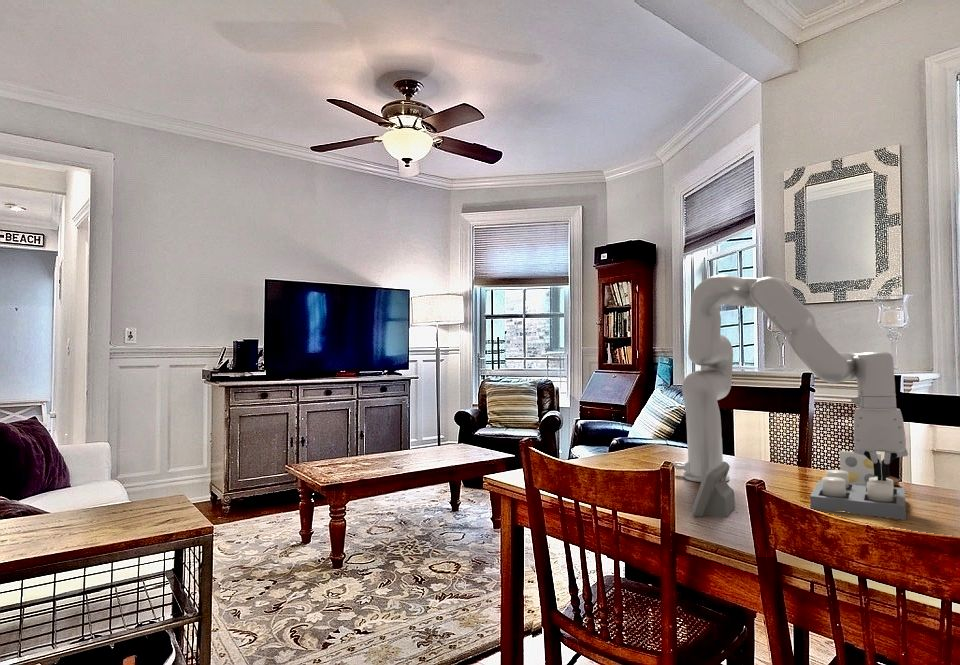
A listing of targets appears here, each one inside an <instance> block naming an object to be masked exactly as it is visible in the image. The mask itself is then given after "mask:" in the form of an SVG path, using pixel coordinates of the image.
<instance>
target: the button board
mask: <svg viewBox="0 0 960 665" xmlns="http://www.w3.org/2000/svg"><path fill="white" fill-rule="evenodd" d="M893 487H894V494H893V501H891V502H881V501H874V500H870V499H868V494H867V485H864V484H854V483H849V487H848V488H846V496H843V497H834V496H828V495H824V494H823V493H822V479H821V480H818V481H817V483H816V484H815V486H814V489H813V490H812V492H811V494H810V495H809V500H810V503H809V504H810V509H811V508H812V509H811V510H818V511H825V512H832V513H833V512H834V513H836V512H835V511H845V512H850V513H855V514H854V515H857V514H859V515H858V516H867V517H874V516H877V517H876V518H882V517H888V518H887V519H891V518H894V519H893V520H899V519H901V520H900V521H907V516H906V512H907V511H906V490H905V487H897V486H893Z"/></svg>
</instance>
